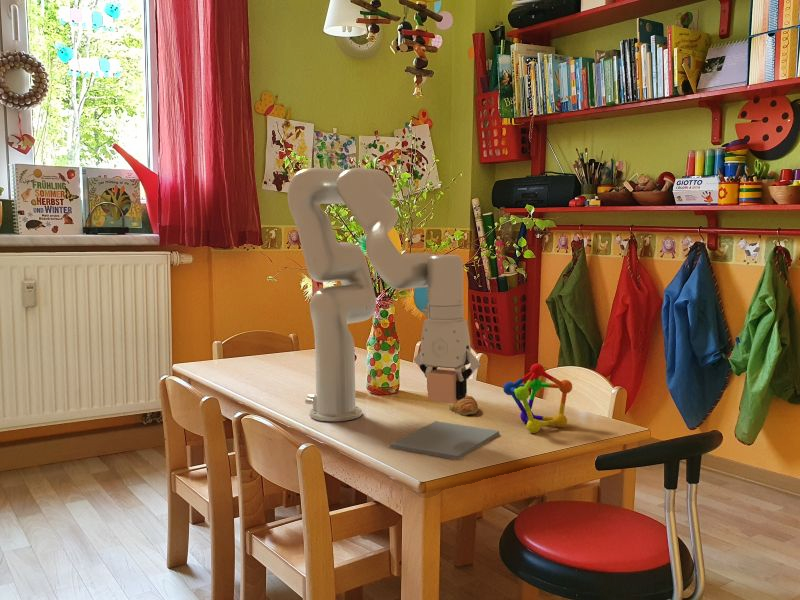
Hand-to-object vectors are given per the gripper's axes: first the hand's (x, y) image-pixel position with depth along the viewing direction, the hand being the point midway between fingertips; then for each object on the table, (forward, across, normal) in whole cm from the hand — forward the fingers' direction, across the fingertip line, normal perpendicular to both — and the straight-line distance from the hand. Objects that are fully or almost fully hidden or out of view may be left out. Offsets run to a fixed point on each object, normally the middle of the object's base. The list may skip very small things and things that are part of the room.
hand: (446, 396), depth 156 cm
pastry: (+10, -8, +25) cm, 28 cm away
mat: (+10, 0, 0) cm, 10 cm away
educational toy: (+10, +12, +20) cm, 25 cm away
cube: (+1, 0, 0) cm, 1 cm away
